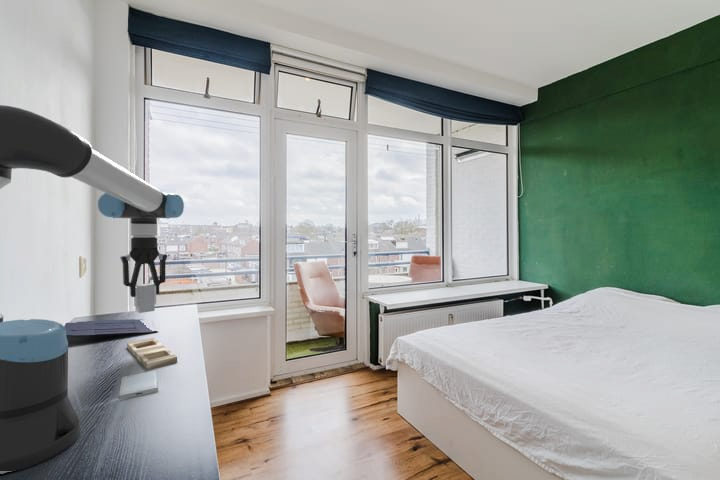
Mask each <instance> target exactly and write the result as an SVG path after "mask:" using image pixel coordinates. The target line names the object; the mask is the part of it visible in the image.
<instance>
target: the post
mask: <svg viewBox="0 0 720 480" xmlns="http://www.w3.org/2000/svg"><path fill="white" fill-rule="evenodd" d="M136 286H137V287H138V291H139V307H136V309H135V311H136V312H137V313H139V314H142V313H150V312H155V310H156V309H155V305H154V283H151V282H150V283H141V284H140V283H139V284H136Z"/></svg>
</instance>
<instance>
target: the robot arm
mask: <svg viewBox="0 0 720 480" xmlns="http://www.w3.org/2000/svg"><path fill="white" fill-rule="evenodd" d="M12 169H15V170H16V169H27V170H37V171H38V170H39V171H44V172H47V173H51V174H53V175H55V176H57V177H60V178H67V179H68V178H73V179H75V180H77V181H79V182H81V183H83V184H85V185H88V186H90V187H92V188H94V189H97V190H99V191H100V192H102V193H103V194H101V195H100V197H99V198H98V200H97V209H98V210H99V212H100V214H101V215H103V216H104V217H107V218H113V219H130V235H131V236H132V237H131V239H130V246H131V247H130V251H129V253H128V254H126V255H121V256H120V260H121V263H122V275H123V276H122V280H123V281H122V283H123V285H124V286H125V287H129V288H130V289H129V290H130V291H129V292H130V295H129V296H130V297H131V298H133V306H134V307H139V291H138V287H137V286H136V285H137V282H138V279H139V275H140V270H141V267H142V266H143V265H148V267H149V268H148V269H149V270H150V275H151V277H152V282H153V284H154V306H155V305H157V295H160V294H159V293H160V285H161V284H163V283H165V282H166V261H167V258H168V255H167V254H164V253H160V252H159V250H158V238H157V236H158V219H177V218H179V217H181V216H182V215H183V213H184V208H185V205H184V204H185V203H184V199H183V198H182V197H181V195H180V194H178V193H171V192H168V193H167V192H163V191H161V190H160V189H158V188H156V187H155V186H153V185H151V184H149V183H148V182H146V181H145V180H143V179H141V178H140V177H138V176H137V175H135V174H134V173H131V172H130V171H128V170H127V169H126V168H124V167H123V166H120V165H118V164H117V163H115V162H114V161H112V160H111V159H109V158H107V157H105V156H104V155H102V154H101V153H99V152H98V151H96V150H94V149H93V147H92V145H91V144H90V142H89V141H88V140H87V139H85V138H83V137H82V136H80V135H79V134H77V133H75V132H74V131H72V130H71V129H69V128H67V127H65V126H63V125H61V124H60V123H57V122H55V121H53V120H51V119H49V118H47V117H44V116H43V115H40V114H37V113H35V112H32V111H29V110H26V109H23V108H20V107H15V106H10V105H2V104H1V105H0V190H1V189H3V188H4V187H6V186H7V185H10V184H11V182H12ZM157 258H158V260H159V276H158V272H157V270H156V264H155V261H156V259H157ZM131 259H132V260H133V261H134V267H133V272H132V276H131V278H130V265H129V262H130V261H131ZM130 279H131V280H130ZM64 326H65V325H63V324H61V323H60V322H58V321H55V320H49V319H42V318H41V319H40V318H39V319H37V318H36V319H35V318H33V319H32V318H31V319H14V320H12V319H11V320H5V321H4V315H3V314H2V313H1V312H0V471H14V470H18V471H21V470H20V469H22V470H25V469H28V468H30V467H33V466H35V465H39V464H40V463H42V462H45V461H46V460H49V459H51V458H53V457H55V456H57V455H58V454H60V453H62V452H63V451H65V450H66V449H68V448H69V447H70V446H71V445H72V444H74V443H75V442H76V441H77V439H78V438H79V437H80V434H81V421H80V419H79V416H78V415H77V412H76V410H75V408H74V406H73V404H72V403H71V401H70V398H69V393H68V392H69V390H68V389H69V388H68V386H69V378H68V377H69V376H68V375H69V340H68V338H67V336H68V335H66V329H65V327H64Z"/></svg>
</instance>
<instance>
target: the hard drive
mask: <svg viewBox="0 0 720 480" xmlns="http://www.w3.org/2000/svg"><path fill="white" fill-rule="evenodd" d="M158 384H159V382H158V371H157V370H150V371H147V372H141V373H136V374H131V375H126V376H122V378H121V381H120V387H119V391H118V392H119V394H118V400H119V401H121V400H124V399H129V398H133V397H134V398H135V397H138V396H144V395H149V394H152V393H157V392H159V385H158Z"/></svg>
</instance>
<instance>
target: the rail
mask: <svg viewBox="0 0 720 480" xmlns="http://www.w3.org/2000/svg"><path fill="white" fill-rule="evenodd" d="M126 348H127V349H128V350H129V351H130V352H131V354H133V356H134V357H135V358H136V359H137V361H139V362H140V363H141V364H142V366H144V368H145V369H146V370H151V369H155V368H158V367H162V366H163V367H164V366H167V365H170V364H171V365H172V364H174V363H177V362H178V356H177V355H176V354H174V353H173V352H172V351H171V350H170V349H168V348H167V347H166V346H164V345H163V344H162V343H161V342H160V341H158V340H157V339H155V338H154V337H151V338H146V339H141V340H136V341H131V342H127V343H126Z"/></svg>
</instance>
